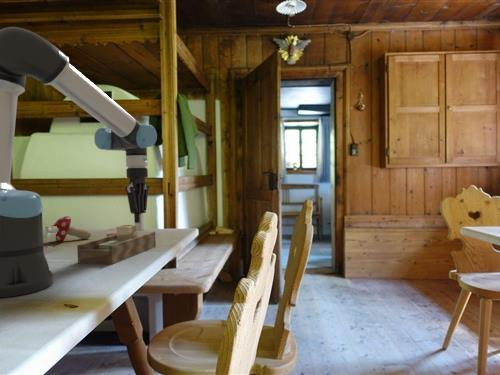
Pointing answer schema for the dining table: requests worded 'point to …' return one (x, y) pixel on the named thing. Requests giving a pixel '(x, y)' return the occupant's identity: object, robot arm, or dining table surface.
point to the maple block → (126, 232)
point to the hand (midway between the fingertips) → (139, 230)
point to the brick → (112, 232)
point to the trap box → (114, 249)
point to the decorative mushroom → (69, 230)
